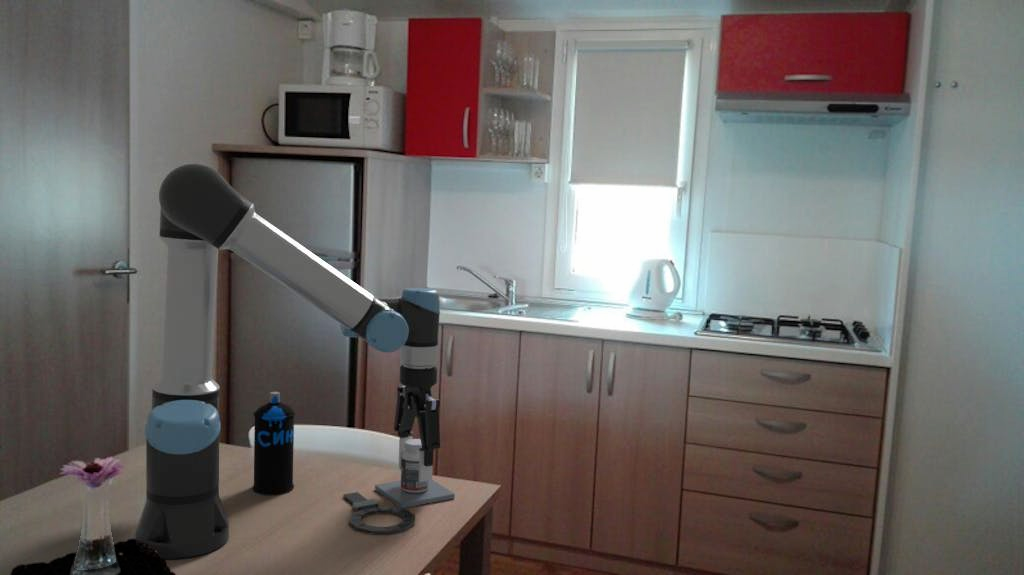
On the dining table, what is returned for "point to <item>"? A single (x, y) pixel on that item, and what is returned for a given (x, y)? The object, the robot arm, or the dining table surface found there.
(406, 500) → the slate trivet
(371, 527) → the iron eye
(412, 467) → the pill bottle
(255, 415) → the aerosol can
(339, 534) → the dining table surface
